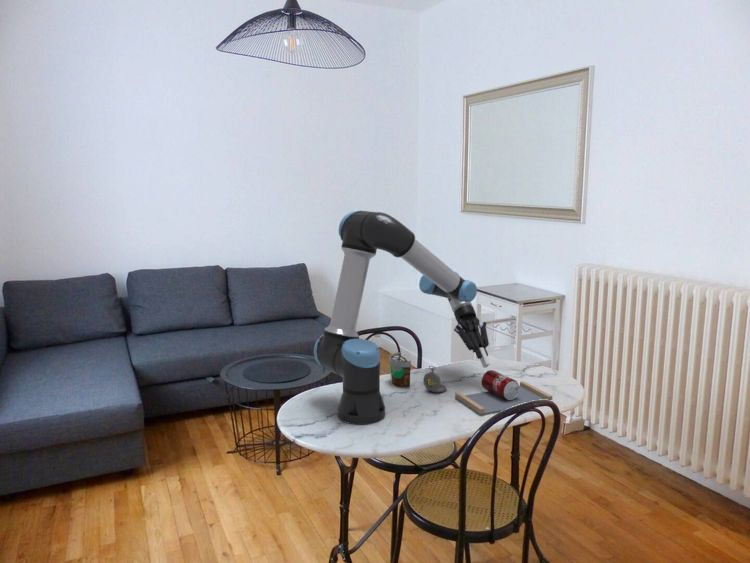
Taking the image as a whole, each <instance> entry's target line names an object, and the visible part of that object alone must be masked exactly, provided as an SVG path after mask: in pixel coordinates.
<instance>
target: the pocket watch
mask: <svg viewBox="0 0 750 563" xmlns="http://www.w3.org/2000/svg"><path fill="white" fill-rule="evenodd" d="M431 367H432V368H431ZM428 369H429V370H430V371H429V372H427V373H425V374H424V376H423V379H422V380H423V382H422V383H423V385H424V387H425V388H426V390H427V391H429V392H431V393H439V394H440V393H443V392H445V391H447V387H446V386H445V385H444V384H442V381H441V378H440V376H439V375H438V374H437V373H435V372H434V371H436V367H435V366H433V365H429V366H428Z"/></svg>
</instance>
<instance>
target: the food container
mask: <svg viewBox="0 0 750 563" xmlns="http://www.w3.org/2000/svg"><path fill="white" fill-rule="evenodd" d="M388 364H389V365H390V376H391V377H390V378H391V385H393V386H395V387H398V388H410V386H411V368H412V361H411V360H409V361H408V360H407V358H406V357H404V356H402V355H401V352H393V353H392V354H390V355H389V357H388Z"/></svg>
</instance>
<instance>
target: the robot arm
mask: <svg viewBox="0 0 750 563" xmlns="http://www.w3.org/2000/svg"><path fill="white" fill-rule="evenodd" d="M338 236H339V237H340V240H341V242H342V244H341V248H340V249H341V250H342V251H343V253H344V255H343V259H342V265H341V271H340V274H339V280H338V285H337V290H336V295H335V299H334V304H333V309H332V314H331V319H330V324H329V325H328V326H326V327H325V328H324V329H323V334H322V335H320V336H319V338H317V339H316V341H315V343H314V346H313V356H314V360H315V361H316V362H317V365H319V366H320V367H322V368H323V369H324V370H326V371H328V372H331V373H334V374H336V375H337V376H340V377H341V378H342V393H341V397H340V398H339V403H338V407H337V417H338V419H339V418H340V419H339V420H341V421H342V420H343V422H344V421H346V422H345V423H347V422H349V423H348V424H352V423H354V425H368V424H369V423H370V424H373V423H377V422H380V421H381V420H383V419H384V418H385V417H386V406H385V403H384V399H383V397H382V393H381V390H380V389H381V388H380V384H381V383H380V382H381V380H380V378H381V371H380V370H381V368H380V367H381V365H380V364H381V363H380V362H381V355H380V348H379V346H378V345H377V344H376V343H375V342H373V341H371V340H369V339H362V338H359V334H358V332H357V330H356V327H357V323H358V318H359V315H360V314H359V313H360V309H361V304H362V300H363V295H364V291H365V290H364V289H365V286H366V280H367V276H368V270H369V265H370V262H371V259H372V258H373V257H375V256H376V254H377V252H378V251H377V250H381V251H384V252H387V253H389V254H390V255H392V256H393V257H394V258H397V259H398V258H401V259H402V260H403V261H405V262H406V263H407V264H408V265H410V266H411V267H413V269H415V270H416V271H417V272H419V273H420V274H421V275H422V276H421V277H420V279H419V283H418V286H419V287H418V288H419V290H420V291H421V292H422V293H423V294H427V295H433V296H438V297H441V298H445V299H447V300H448V303H449V306H450V308H451V310H452V312H453V316H454V317H455V320H456V323H457V325H456V326H455V327H454V328H453V330H454V332H455V333H457V335H458V337H459V338H460V339H461V340H462V342H463V343H464V345H465V347H466V348H467V350H468V351H472V353H475V355H476V358H477V359H479V361H480V364H481V365H482V367H483V368H488V367H489V366H490V365H491V362H490V360H489V358H488V357H489V353H488V351H487V349H486V348H487V347H488V346H490V345H489V344H490V343H489V338H488V337H489V336H488V333H487V332H488V331H487V322H485V321H483V322H482V321H480V319H479V318H478V317H477V313H476V311H475V308H474V306H473V304H472V301H474V300H475V299H476V296H477V293H478V287H477V285H476V283H475V282H473V281H471V280H469V279H468V280H467V279H464V278H463V277H462V276H461V275H459V273H458V272H457V271H454V270H453V269H452V268H450V267H449V266H448V265H447V264H446V263H445V262H444V261H442V260H441V259H440V258H439V257H437V255H435V254H434V253H433V252H431V251H430V250H429V249H428V248H427V247H426V246H425V245H423V244H422V243H421V242H419V240H417V239H416V235H415V233H414V232H412V230H411V229H409V228H408V227H407V226H406V225H404V224H403V223H402V222H401V221H400V220H397V219H396V218H395V217H393V216H392V215H390V214H387V213H386V212H381V211H368V210H355V211H351V212H349V213H347V214H345V215H344V217H342V219H341V221H340V223H339V226H338Z"/></svg>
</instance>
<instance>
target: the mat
mask: <svg viewBox="0 0 750 563" xmlns="http://www.w3.org/2000/svg"><path fill="white" fill-rule="evenodd" d="M454 399H455V400H457V401H458V402H459V403H461V404H462V405H464V406H465V407H466V408H468V409H469V410H471V411H472V412H473V413H475V414H476V415H478V416H479V417H480V416H482V417H483V416H486V414H487V415H492V414H496V413H501V412H500V411H502V410H505V409H507V408H510V407H512V406H515V405H518V404H521V403H524V402H529V401H532V400H539V399H548V400H552V401H553V395H551V394H549V393H548V392H545V391H543V390H542V389H541V388H538V387H536V386H535V385H532V384H530V383H528V382H527V381H524V380H521V381H519V393H518V395H517V396H516V397H515V398H514V399H512V400H505V399H503V398H501V397H499V396H497V395H495V394H493V393H491V392H489V391H487V390H486V391H481V392H476V393H469V394H463V393H462V392H460V391H456V392H454ZM491 413H492V414H491Z"/></svg>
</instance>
